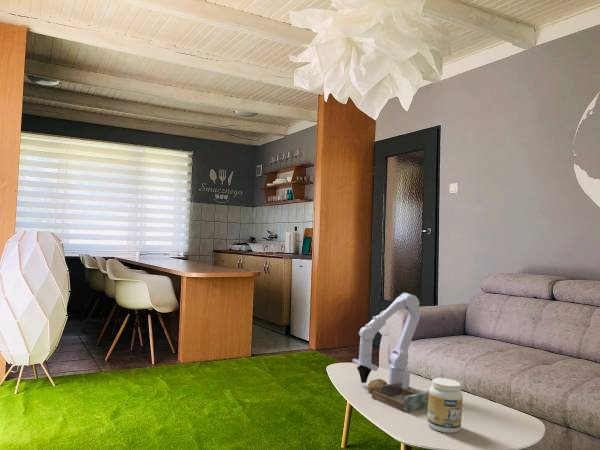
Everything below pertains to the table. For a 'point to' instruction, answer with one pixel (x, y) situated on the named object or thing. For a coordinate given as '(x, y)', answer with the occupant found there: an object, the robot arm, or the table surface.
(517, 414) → the table surface
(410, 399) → the brown wooden tray
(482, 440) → the table surface
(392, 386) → the pusher plate
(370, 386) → the bread roll
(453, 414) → the supplement tub
